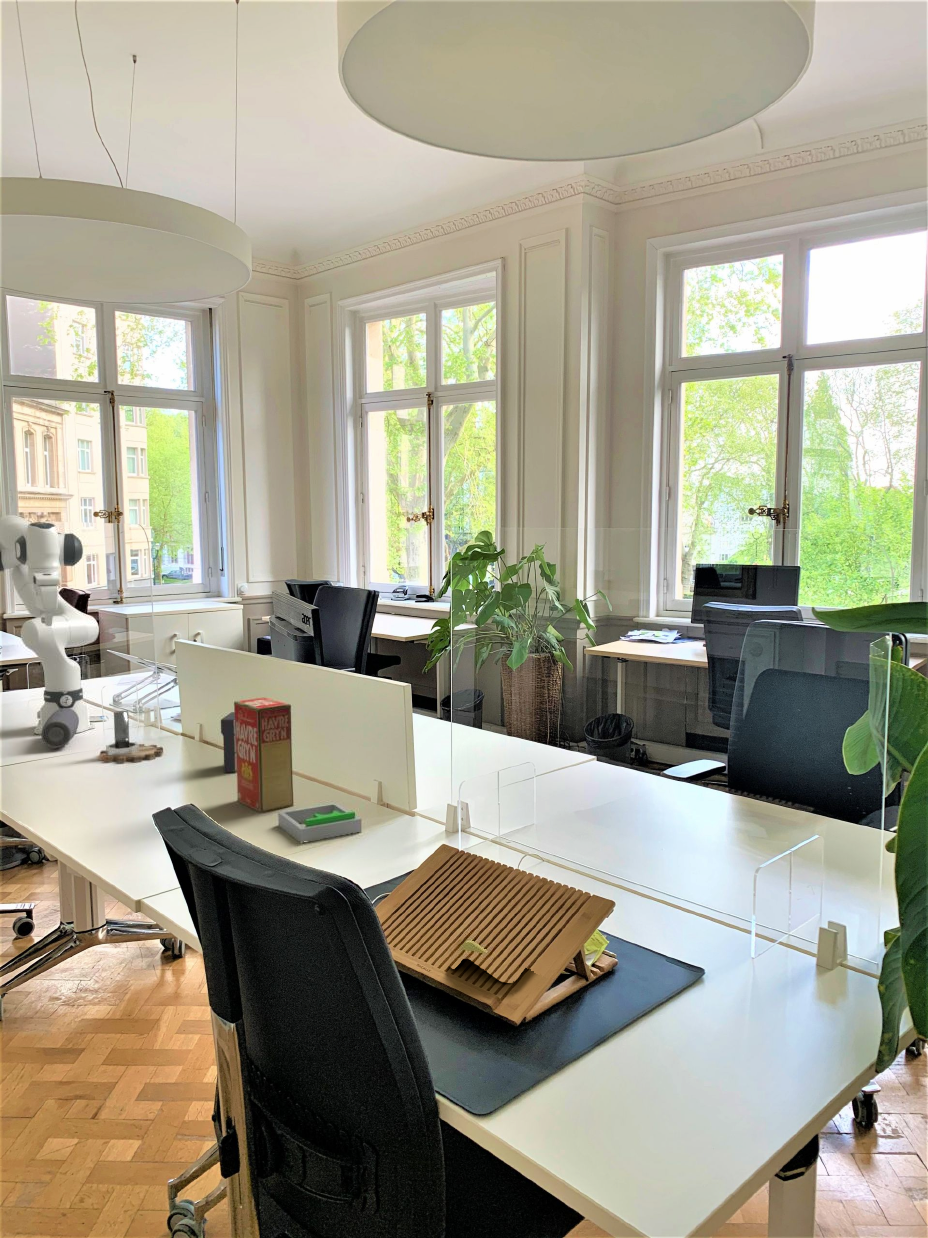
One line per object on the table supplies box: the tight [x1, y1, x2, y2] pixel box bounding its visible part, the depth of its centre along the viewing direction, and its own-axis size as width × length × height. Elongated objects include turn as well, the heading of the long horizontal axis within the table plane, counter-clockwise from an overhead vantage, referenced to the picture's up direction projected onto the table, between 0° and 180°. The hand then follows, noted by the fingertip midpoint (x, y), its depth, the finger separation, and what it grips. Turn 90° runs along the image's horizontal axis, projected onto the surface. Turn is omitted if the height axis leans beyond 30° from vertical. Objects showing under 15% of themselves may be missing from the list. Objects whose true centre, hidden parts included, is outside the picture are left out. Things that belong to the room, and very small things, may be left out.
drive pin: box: [113, 710, 130, 748], centre depth 264 cm, size 4×4×12 cm
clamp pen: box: [277, 802, 362, 843], centre depth 199 cm, size 14×14×3 cm
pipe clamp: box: [304, 810, 356, 827], centre depth 196 cm, size 11×4×5 cm, turn 121°
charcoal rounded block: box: [220, 711, 237, 774], centre depth 251 cm, size 11×4×15 cm, turn 179°
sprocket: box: [98, 741, 164, 764], centre depth 266 cm, size 18×18×4 cm
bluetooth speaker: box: [40, 708, 79, 749], centre depth 282 cm, size 23×9×10 cm, turn 17°
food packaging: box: [233, 697, 294, 813], centre depth 217 cm, size 13×9×25 cm
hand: (46, 624), depth 264 cm, fingers open, 8 cm apart
